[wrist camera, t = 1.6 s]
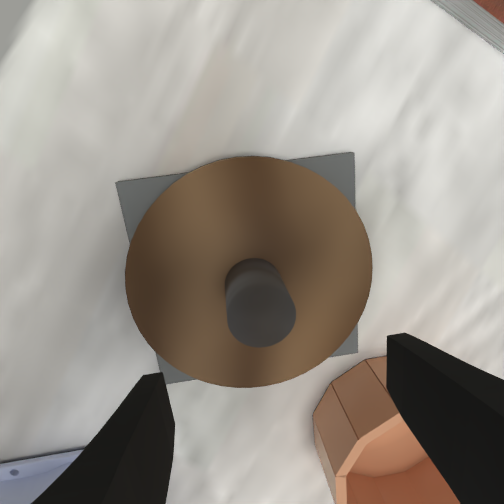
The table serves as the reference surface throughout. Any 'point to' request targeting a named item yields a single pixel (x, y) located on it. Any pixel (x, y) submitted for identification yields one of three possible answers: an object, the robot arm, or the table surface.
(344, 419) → the bowl
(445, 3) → the picture frame
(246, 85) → the table surface
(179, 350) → the lid
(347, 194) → the mat
